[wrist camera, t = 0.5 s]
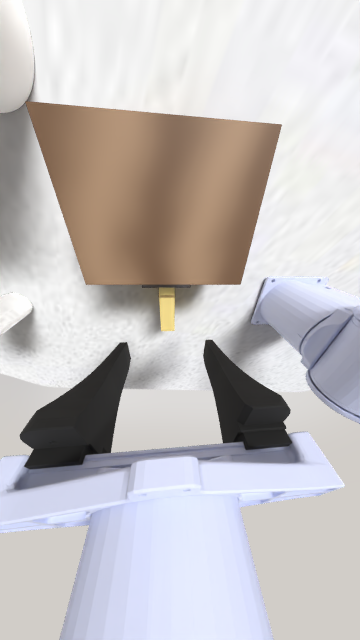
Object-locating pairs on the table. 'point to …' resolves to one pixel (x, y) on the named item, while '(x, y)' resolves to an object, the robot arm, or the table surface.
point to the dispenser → (156, 192)
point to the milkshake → (13, 310)
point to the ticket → (167, 308)
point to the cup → (15, 56)
